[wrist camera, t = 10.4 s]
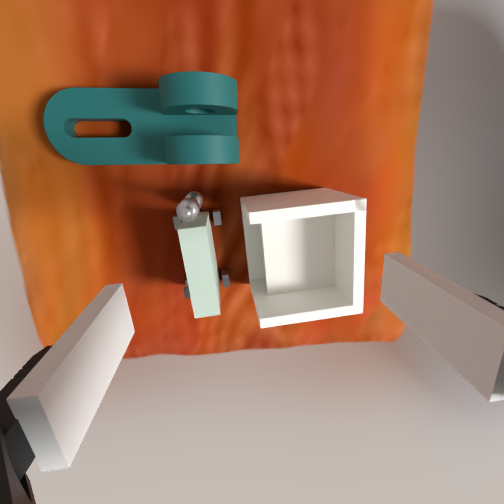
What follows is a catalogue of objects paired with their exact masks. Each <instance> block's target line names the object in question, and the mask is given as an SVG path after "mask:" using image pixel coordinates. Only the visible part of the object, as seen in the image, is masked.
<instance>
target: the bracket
mask: <svg viewBox="0 0 504 504" xmlns="http://www.w3.org/2000/svg"><path fill="white" fill-rule="evenodd" d="M158 83H159V89H158V88H67V89H63V90H61V91H59V92H57V93H56V94H55V95H53V96H52V97H51V98H50V100H49V101H48V103H47V105H46V107H45V111H44V128H45V132H46V134H47V137H48V139H49V141H50V142H51V144H52V145H53V147H54V148H55V149H56V150H57V151H58V152H59V153H60V154H61V155H62V156H64V157H65V158H67V159H68V160H70V161H72V162H75V163H78V164H82V165H129V164H231V163H239V138H238V137H237V123H236V115H237V112H238V100H237V81H236V80H235V79H233V78H231V77H229V76H226V75H222V74H217V73H210V72H194V71H192V72H176V73H170V74H166V75H164V76H161V77H160V78H159V79H158ZM79 121H128V122H129V123H130V124H131V127H132V132H131V134H130V135H129V136H128V137H117V138H79V137H78V136H77V135H76V134H75V131H74V126H75V124H76V123H77V122H79Z"/></svg>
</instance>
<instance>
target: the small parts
mask: <svg viewBox="0 0 504 504" xmlns="http://www.w3.org/2000/svg"><path fill="white" fill-rule="evenodd" d="M202 203H203V196H202V194H201V193H200V192H198V191H191V192H189V193H188V195H187V196H186V197H185V199H183V200H182V201H181V202H180V203H179V205H178V206H177V209H176V213H177V214H175V215H174V216H173V222H174V227H175V230H178V228H179V226H180V225H181V223H182V221H184V222H192V221H194V220H195V219H196V218H197V216H198V213H199V211H200V207H201V206H202ZM213 218H214V225H215V226H217V225H222V220H221V213H220V208H219V209H213ZM222 280H223V287H228V286H230V279H229V272H228V269H222ZM185 284H186V287H188V281H187V276H186V278H185Z"/></svg>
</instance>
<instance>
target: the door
mask: <svg viewBox="0 0 504 504" xmlns="http://www.w3.org/2000/svg"><path fill="white" fill-rule="evenodd" d="M177 231H178V236H179V241H180V246H181V251H182V256H183V261H184V266H185V271H186V276H187V281H188V287H184V295H185V298H191V302H192V307H193V312H194V317H195V318H200V317H207V316H214V315H220V280H219V273H218V267H217V260H216V254H215V248H214V241H213V235H212V228H211V222H210V216H209V211H204V212H199V213H198V216H197V218H196V219H195V220H194V221H192V222H184V221H182V223H181V225H180V226H179V228H178V230H177Z"/></svg>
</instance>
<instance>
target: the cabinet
mask: <svg viewBox="0 0 504 504" xmlns="http://www.w3.org/2000/svg"><path fill="white" fill-rule="evenodd" d="M366 200H367V199H366V198H362V197H358V196H354V195H351V194H347V193H343V192H339V191H335V190H331V189H328V188H317V189H308V190H300V191H291V192H282V193H273V194H265V195H256V196H247V197H240V202H241V211H242V220H243V229H244V238H245V247H246V256H247V265H248V274H249V283H250V287H251V291H252V295H253V299H254V303H255V307H256V311H257V315H258V319H259V323H260V327H261V328H266V327H273V326H280V325H286V324H293V323H300V322H306V321H313V320H319V319H326V318H333V317H339V316H346V315H353V314H359V313H363V294H364V263H365V231H366Z"/></svg>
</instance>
